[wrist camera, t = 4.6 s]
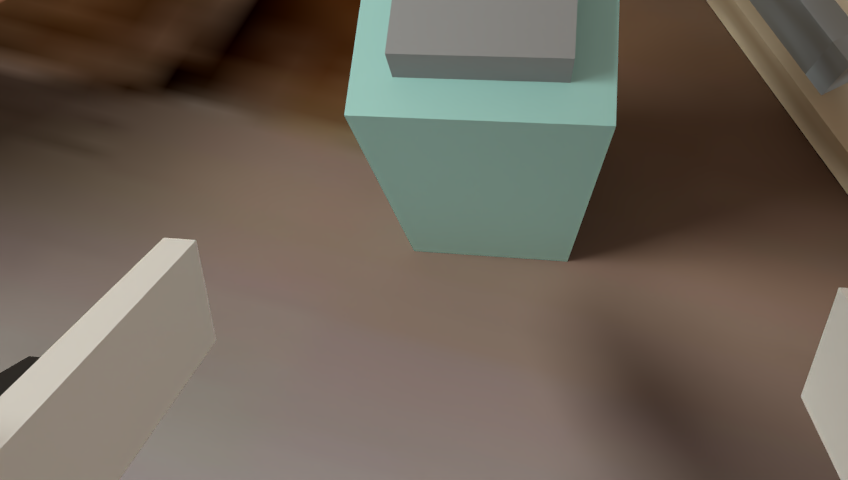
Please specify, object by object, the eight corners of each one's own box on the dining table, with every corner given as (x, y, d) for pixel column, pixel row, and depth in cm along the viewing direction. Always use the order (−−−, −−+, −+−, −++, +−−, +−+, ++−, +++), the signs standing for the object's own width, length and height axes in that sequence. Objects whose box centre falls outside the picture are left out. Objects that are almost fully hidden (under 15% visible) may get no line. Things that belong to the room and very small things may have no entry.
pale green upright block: (567, 261, 26) (623, 104, 13) (414, 251, 27) (333, 94, 14) (574, 119, 27) (629, -139, 15) (428, 113, 28) (367, -136, 16)
